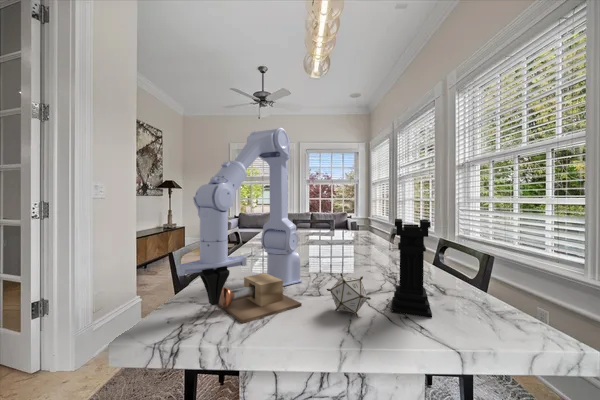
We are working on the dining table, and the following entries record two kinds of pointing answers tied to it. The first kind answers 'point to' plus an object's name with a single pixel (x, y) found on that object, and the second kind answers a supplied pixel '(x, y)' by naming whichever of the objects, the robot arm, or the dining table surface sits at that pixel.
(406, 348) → the dining table surface
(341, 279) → the game die
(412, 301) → the chess piece
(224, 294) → the pin
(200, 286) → the dining table surface
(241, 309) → the block
